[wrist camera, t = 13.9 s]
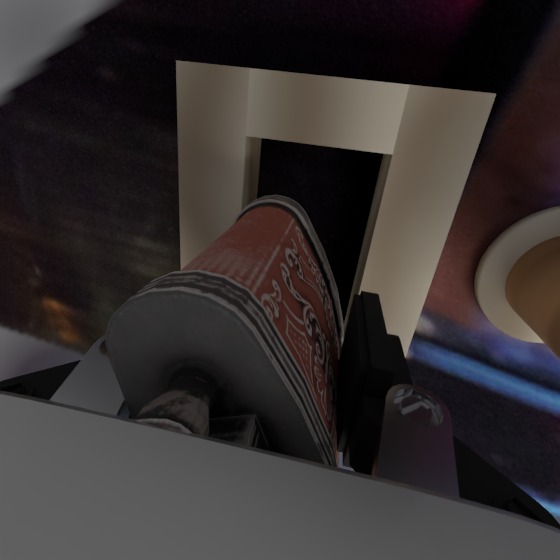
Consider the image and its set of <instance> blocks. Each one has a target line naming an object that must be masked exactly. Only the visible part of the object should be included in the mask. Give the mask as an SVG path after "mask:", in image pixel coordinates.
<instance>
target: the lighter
mask: <svg viewBox="0 0 560 560" xmlns="http://www.w3.org/2000/svg"><path fill="white" fill-rule="evenodd" d="M343 339H344V324H343V318H342V312H341V306H340V301H339V295H338V289H337V286H336V283H335V280H334V277H333V274H332V271H331V269H330V266H329V263H328V260H327V257H326V254H325V251H324V249H323V247H322V245H321V243H320V241H319V238H318V236H317V234H316V232H315V230H314V228H313V226H312V224H311V222H310V220H309V218H308V216H307V214H306V212H305V211H304V209H303V208H302V207H301V206H300V204H299V203H297V202H295V201H294V200H292V199H290V198H289V197H284V196H279V195H270V196H263V197H261V198H259V199H257V200H254V201H252V202H251V203H250V204H248V205H247V206H246V207H245V208H244V209H243V210H242V211H241V212H240V213H239V214H238V215H237V216H236V218H235V220H234V222H233V224H232V226H231V227H230V228H229V229H228V230H227V231H225V232H224V233H223V234H222V235H221V236H220V237H219V238H217V239H216V240H215V241H214V242H213V243H212V244H210V245H209V246H208V247H207V248H206V249H205V250H204V251H202V252H201V253H200V254H199V255H198V256H197V257H195V258H194V259H193V260H192V261H191V262H190V263H189V264H187V265H186V266H185V267H184V268H183V269H182V270H180V271H174V272H171V273H169V274H167V275H164V276H162V277H160V278H157V279H155V280H153V281H151V282H150V283H149V284H147V285H146V286H145V287H144V288H142V289H141V290H140V291H139V292H137V293H136V294H135V295H134V296H132V297H131V298H130V299H128V300H127V301H126V302H125V303H124V304H123V305H122V306H121V307H120V308H119V309H118V310H117V311H116V312H115V313H114V314H113V315H112V316H111V318H110V322H109V325H108V328H107V331H106V335H105V340H106V346H107V352H108V357H109V360H110V362H111V365H112V367H113V370H114V373H115V375H116V378H117V380H118V383H119V386H120V388H121V391H122V393H123V396H124V399H125V401H126V404H127V406H128V409H129V412H130V414H131V417H132V419H134V420H136V421H140V422H143V423H147V424H150V425H154V426H158V427H161V428H166V429H170V430H175V431H180V432H186V433H194V434H199V435H203V436H207V437H212V438H216V439H220V440H224V441H229V442H233V443H237V444H241V445H246V446H250V447H254V448H258V449H263V450H267V451H271V452H275V453H279V454H284V455H288V456H292V457H296V458H300V459H305V460H309V461H313V462H317V463H321V464H325V465H329V466H334V467H338V464H339V462H338V461H339V451H337V418H338V364H339V356H340V352H341V348H342V343H343Z"/></svg>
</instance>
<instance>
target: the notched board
mask: <svg viewBox="0 0 560 560" xmlns="http://www.w3.org/2000/svg"><path fill="white" fill-rule="evenodd" d="M176 82H177V126H178V169H179V213H180V257H181V270H182V269H183V268H184V267H185V266H186V265H187V264H189V263H190V262H191V261H192V260H193V259H194V258H195V257H197V256H198V255H199V254H200V253H201V252H202V251H204V250H205V249H206V248H207V247H208V246H209V245H210V244H212V243H213V242H214V241H215V240H216V239H217V238H219V237H220V236H221V235H222V234H223V233H224V232H225V231H227V230H228V229H229V228H230V227H231V226H232V224H233V222H234V220H235V218H236V216H237V215H238V214H239V213H240V212H241V211H242V210H243V209H244V208H245V207H246V206H247V205H248V204H250V203H251V202H252V201H254V200H257V190H258V177H259V165H260V152H261V139H262V138H266V139H274V140H281V141H289V142H297V143H305V144H313V145H320V146H328V147H336V148H344V149H352V150H359V151H367V152H375V153H383V157H382V162H381V166H380V170H379V175H378V179H377V183H376V188H375V192H374V196H373V201H372V205H371V209H370V214H369V218H368V222H367V227H366V231H365V235H364V240H363V244H362V248H361V253H360V257H359V261H358V266H357V270H356V274H355V279H354V283H353V287H352V292H351V296H350V300H349V305H348V309H347V313H346V317H345V322H344V335H345V331H346V326H347V322H348V318H349V314H350V309H351V305H352V301H353V297H354V294H358V295H360V293H361V291H366V292H371V293H377V294H379V298H380V303H381V307H382V312H383V316H384V321H385V325H386V330H387V334H393V335H397V336H399V338H400V341H401V344H402V348H403V351H404V355H405V357H406V354H407V351H408V348H409V345H410V342H411V340H412V337H413V334H414V331H415V328H416V325H417V322H418V319H419V316H420V313H421V311H422V308H423V305H424V302H425V299H426V296H427V293H428V290H429V287H430V285H431V282H432V279H433V276H434V273H435V270H436V267H437V264H438V261H439V258H440V256H441V253H442V250H443V247H444V244H445V241H446V238H447V235H448V232H449V230H450V227H451V224H452V221H453V218H454V215H455V212H456V209H457V206H458V203H459V201H460V198H461V195H462V192H463V189H464V186H465V183H466V180H467V177H468V174H469V172H470V169H471V166H472V163H473V160H474V157H475V154H476V151H477V148H478V146H479V143H480V140H481V137H482V134H483V131H484V128H485V125H486V122H487V119H488V117H489V114H490V111H491V108H492V105H493V102H494V99H495V96H496V94H494V93H485V92H475V91H466V90H456V89H446V88H437V87H427V86H418V85H408V84H398V83H389V82H379V81H369V80H360V79H350V78H341V77H331V76H321V75H312V74H302V73H293V72H283V71H273V70H264V69H254V68H244V67H235V66H225V65H216V64H206V63H196V62H187V61H177V60H176Z"/></svg>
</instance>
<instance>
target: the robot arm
mask: <svg viewBox="0 0 560 560" xmlns="http://www.w3.org/2000/svg"><path fill="white" fill-rule="evenodd" d="M337 451H339V452H343V466H347V467H351V468H353V469H354V471H355V472H354V471H350V470H346V469H342V468H338V467H334V466H329V465H325V464H321V463H317V462H313V461H309V460H305V459H300V458H296V457H292V456H288V455H284V454H279V453H275V452H271V451H267V450H263V449H258V448H254V447H250V446H246V445H241V444H237V443H233V442H229V441H224V440H220V439H216V438H212V437H207V436H203V435H199V434H194V433H186V432H180V431H175V430H170V429H166V428H161V427H158V426H154V425H150V424H147V423H143V422H140V421H136V420H134V419H132V417H131V414H130V412H129V409H128V406H127V404H126V401H125V399H124V396H123V393H122V391H121V388H120V386H119V383H118V380H117V378H116V375H115V373H114V370H113V367H112V365H111V362H110V360H109V357H108V352H107V346H106V340H105V336H103V337H101V338H100V339H99V340H98V341H96V342H95V343H94V345H93V346H92V347H91V349H90V350H89V351H88V352H87V354H86V355H85V356H84V357H83V359H82V360H79V361H75V362H71V363H68V364H64V365H60V366H56V367H53V368H49V369H45V370H41V371H37V372H33V373H30V374H26V375H22V376H18V377H15V378H11V379H7V380H3V381H1V382H0V560H560V524H559V523H558V522H557V521H556V520H555V518H554V517H553V516H552V515H551V514H550V513H549V512H548V511H547V510H546V509H545V508H544V507H543V506H542V505H540V504H539V503H538V502H537V501H536V500H534V499H533V498H532V497H530V496H529V495H528V494H527V493H525V492H524V491H523V490H522V489H520V488H519V487H518V486H517V485H515V484H514V483H513V482H511V481H510V480H509V479H508V478H506V477H505V476H504V475H503V474H501V473H500V472H499V471H498V470H496V469H495V468H494V467H492V466H491V465H490V464H489V463H487V462H486V461H485V460H484V459H482V458H481V457H480V456H479V455H477V454H476V453H475V452H474V451H472V450H471V449H470V448H468V447H467V446H466V445H465V444H463V443H462V442H461V441H460V440H458V439H457V438H456V437H455V436H453V435H452V426H451V418H450V414H449V411H448V409H447V408H446V406H445V405H444V404H443V402H442V401H441V400H439V399H438V398H437V397H436V396H435V395H433V394H432V393H430V392H429V391H427V390H425V389H422V388H420V387H418V386H414V385H413V384H412V380H411V377H410V373H409V370H408V366H407V362H406V359H405V355H404V351H403V348H402V344H401V341H400V338H399V336H397V335H393V334H387V330H386V325H385V321H384V316H383V312H382V307H381V303H380V298H379V294H377V293H371V292H366V291H361V293H360V295H358V294H354V297H353V301H352V305H351V309H350V314H349V318H348V322H347V326H346V331H345V335H344V339H343V343H342V348H341V352H340V356H339V364H338V418H337Z"/></svg>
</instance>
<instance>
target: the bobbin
mask: <svg viewBox="0 0 560 560" xmlns="http://www.w3.org/2000/svg"><path fill="white" fill-rule="evenodd" d="M474 291H475V297H476V300H477V303H478V305H479V307H480V308H481V310H482V311H483V313H484V314H485V315H486V317H487V318H488V319H489V320H490V322H491V323H492V324H493V325H494V326H495V327H496V328H498V329H499V330H501V331H502V332H503V333H505V334H507V335H509V336H511V337H514V338H517V339H519V340H523V341H527V342H534V343H545V344H546V345H547V346H548V347H549V348H550V349H551V350H552V351H553V352H554V353H555V354H556V355H557V356H558V357H559V359H560V206H556V207H552V208H548V209H544V210H541V211H538V212H535V213H533V214H530V215H528V216H526V217H524V218H522V219H520V220H519V221H517V222H515V223H514V224H512V225H511V226H509V227H508V228H507V229H505V230H504V231H503V232H502V233H501V234H500V235H499V236H497V237H496V238H495V239H494V240H493V242H492V243H491V244H490V245H489V246H488V248H487V249H486V251H485V252H484V254H483V255H482V257H481V259H480V261H479V263H478V266H477V269H476V273H475V279H474Z"/></svg>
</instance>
